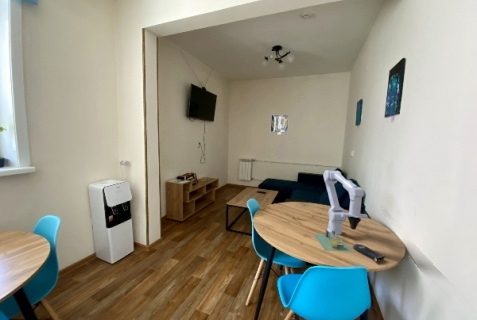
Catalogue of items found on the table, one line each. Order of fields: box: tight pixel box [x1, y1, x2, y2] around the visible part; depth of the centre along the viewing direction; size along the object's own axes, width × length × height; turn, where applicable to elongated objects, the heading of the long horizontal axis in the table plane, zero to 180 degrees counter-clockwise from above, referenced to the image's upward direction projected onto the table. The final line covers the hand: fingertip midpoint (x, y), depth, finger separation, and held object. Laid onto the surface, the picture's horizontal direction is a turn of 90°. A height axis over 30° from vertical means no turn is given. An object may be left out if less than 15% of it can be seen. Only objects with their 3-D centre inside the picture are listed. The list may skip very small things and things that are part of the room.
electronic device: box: [352, 243, 386, 263], centre depth 113 cm, size 9×6×15 cm
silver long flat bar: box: [328, 232, 342, 245], centre depth 122 cm, size 14×2×1 cm, turn 178°
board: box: [313, 229, 354, 253], centre depth 122 cm, size 20×16×5 cm
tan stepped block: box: [330, 238, 344, 248], centre depth 117 cm, size 3×6×4 cm, turn 88°
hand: (352, 228), depth 121 cm, fingers closed
